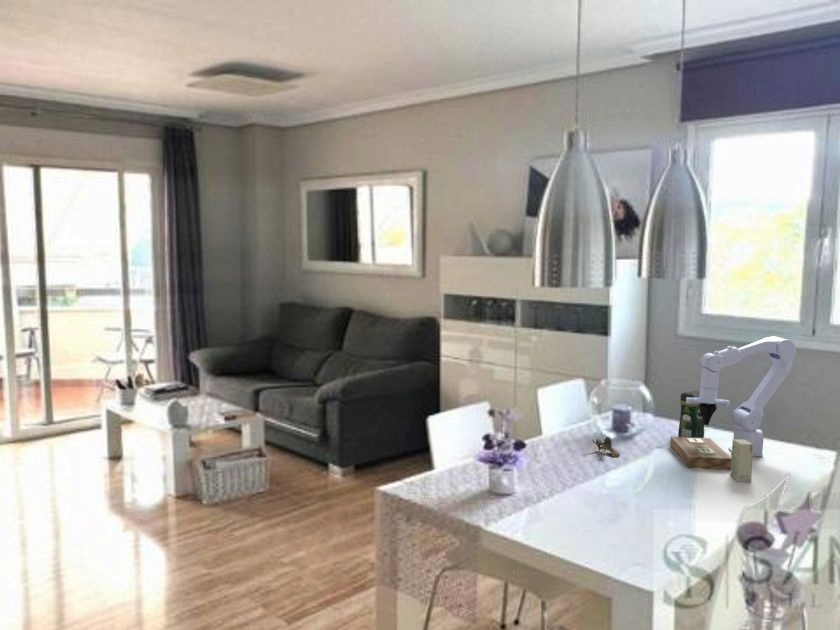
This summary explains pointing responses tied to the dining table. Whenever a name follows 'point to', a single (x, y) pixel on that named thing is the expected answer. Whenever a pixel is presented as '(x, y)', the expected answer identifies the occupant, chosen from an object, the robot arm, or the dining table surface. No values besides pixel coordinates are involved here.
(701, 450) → the sage button
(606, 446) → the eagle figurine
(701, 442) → the cream button
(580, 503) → the dining table surface
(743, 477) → the skincare box
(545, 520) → the dining table surface
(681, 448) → the board
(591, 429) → the dining table surface
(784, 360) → the robot arm
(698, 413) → the coffee jar
